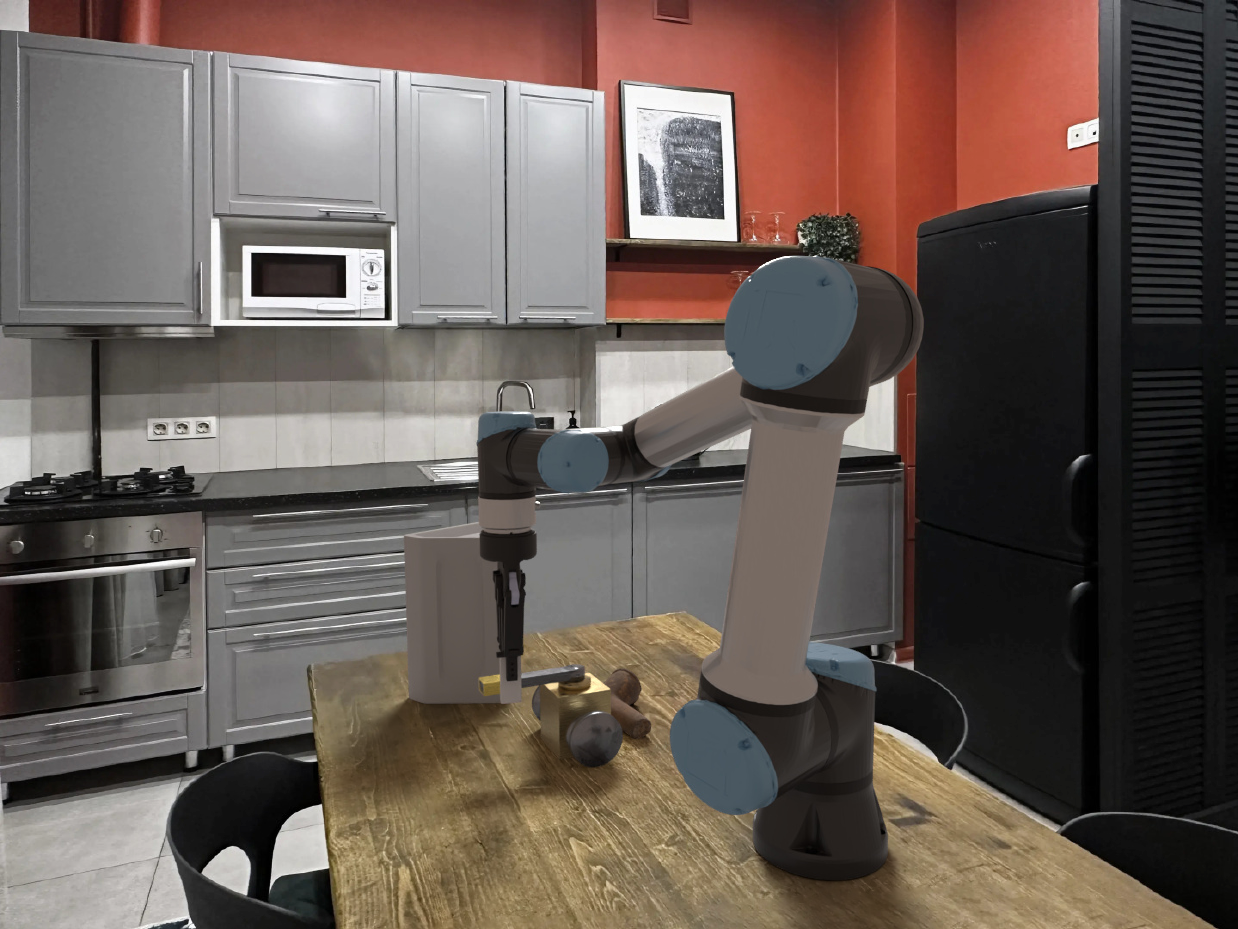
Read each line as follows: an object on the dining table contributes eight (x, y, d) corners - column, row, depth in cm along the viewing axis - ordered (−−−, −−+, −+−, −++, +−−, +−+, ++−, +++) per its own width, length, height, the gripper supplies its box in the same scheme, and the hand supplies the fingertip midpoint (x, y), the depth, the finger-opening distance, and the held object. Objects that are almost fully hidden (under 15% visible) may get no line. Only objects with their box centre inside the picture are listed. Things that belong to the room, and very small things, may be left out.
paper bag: (465, 718, 138) (461, 545, 136) (406, 697, 147) (401, 535, 145) (547, 684, 153) (544, 528, 151) (489, 668, 162) (485, 520, 160)
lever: (580, 673, 129) (580, 662, 129) (587, 679, 126) (587, 667, 126) (478, 689, 122) (478, 677, 122) (484, 696, 120) (484, 684, 120)
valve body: (624, 761, 122) (623, 694, 121) (571, 772, 118) (570, 703, 118) (579, 719, 137) (578, 659, 136) (531, 728, 134) (529, 666, 133)
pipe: (629, 714, 127) (681, 689, 133) (570, 682, 141) (620, 661, 146) (635, 753, 128) (687, 727, 134) (576, 718, 142) (625, 696, 147)
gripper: (544, 535, 109) (546, 716, 111) (528, 519, 122) (531, 682, 124) (484, 538, 107) (488, 722, 109) (474, 521, 120) (478, 687, 122)
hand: (510, 701), depth 117 cm, fingers closed
